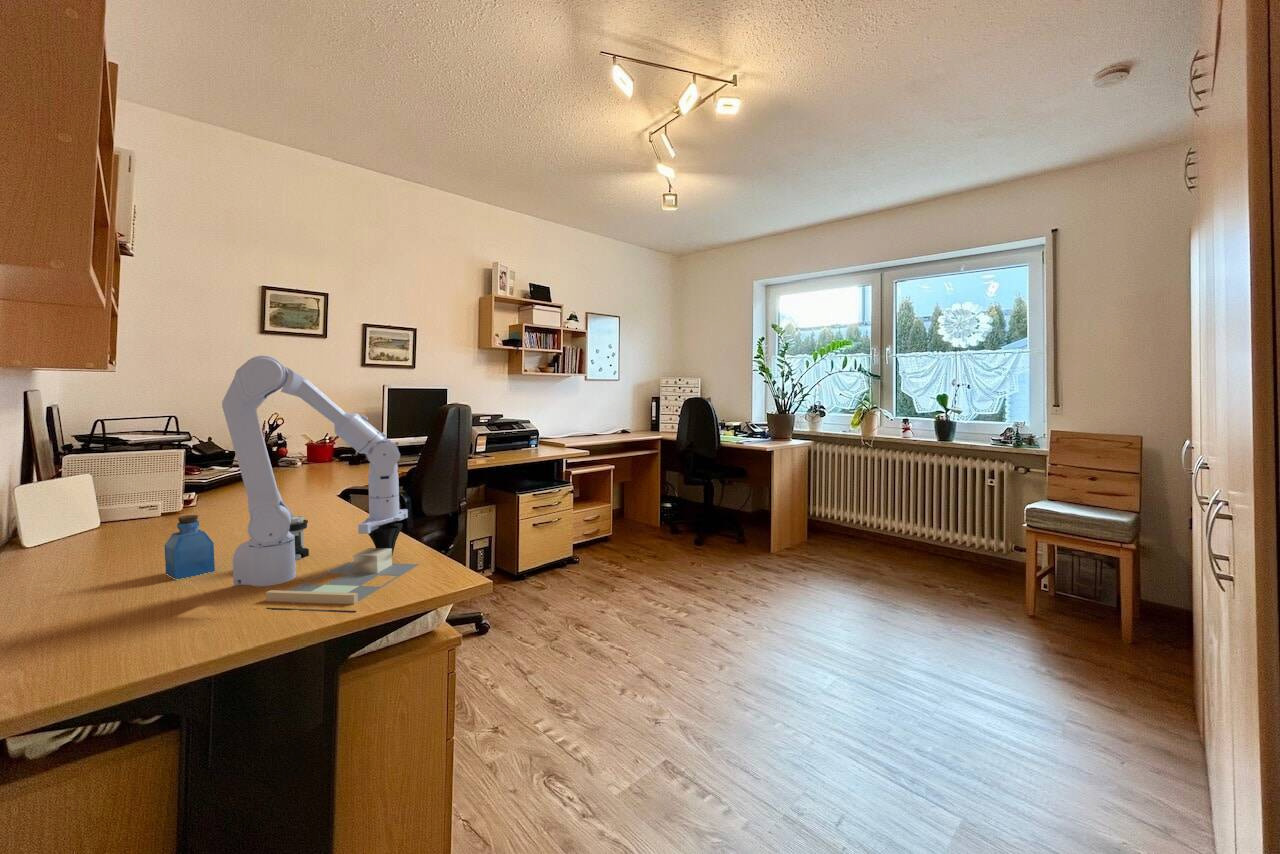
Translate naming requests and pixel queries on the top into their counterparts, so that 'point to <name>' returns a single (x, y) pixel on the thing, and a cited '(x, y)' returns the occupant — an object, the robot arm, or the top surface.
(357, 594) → the board
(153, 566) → the top surface
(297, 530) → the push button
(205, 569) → the perfume bottle
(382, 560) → the maple block
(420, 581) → the top surface
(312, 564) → the top surface
